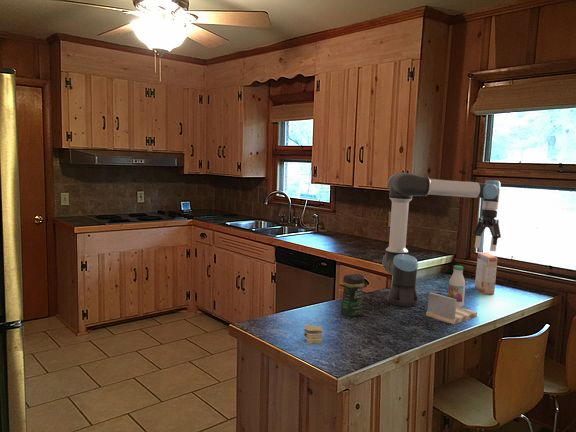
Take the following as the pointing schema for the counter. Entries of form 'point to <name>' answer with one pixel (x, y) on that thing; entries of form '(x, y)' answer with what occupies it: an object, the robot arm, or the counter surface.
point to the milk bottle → (457, 286)
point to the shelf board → (460, 315)
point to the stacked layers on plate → (313, 334)
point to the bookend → (442, 305)
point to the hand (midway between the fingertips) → (484, 249)
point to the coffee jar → (352, 295)
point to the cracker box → (486, 273)
